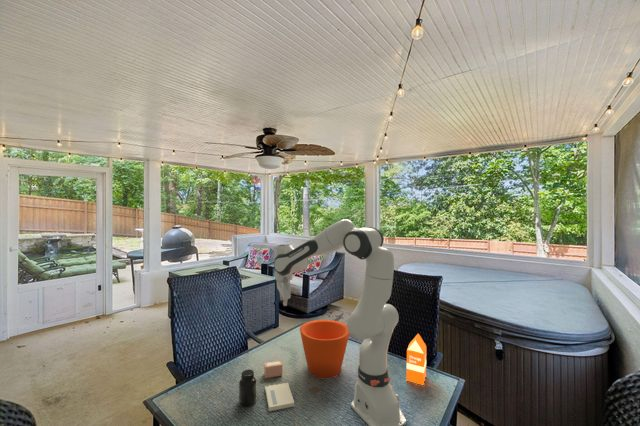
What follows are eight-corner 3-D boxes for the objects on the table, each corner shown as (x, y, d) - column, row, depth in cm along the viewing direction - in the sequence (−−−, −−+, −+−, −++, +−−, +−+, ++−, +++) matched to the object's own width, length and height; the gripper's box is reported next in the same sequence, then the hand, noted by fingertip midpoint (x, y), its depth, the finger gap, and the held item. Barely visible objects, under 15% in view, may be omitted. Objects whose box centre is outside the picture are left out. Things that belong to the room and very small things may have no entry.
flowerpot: (349, 357, 148) (349, 320, 148) (349, 386, 123) (350, 342, 124) (303, 354, 151) (304, 318, 151) (294, 382, 126) (295, 338, 126)
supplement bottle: (249, 394, 117) (249, 366, 117) (259, 401, 113) (260, 371, 113) (235, 402, 112) (235, 372, 112) (245, 410, 107) (245, 379, 107)
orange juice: (406, 381, 128) (406, 338, 128) (409, 372, 135) (410, 331, 136) (424, 386, 124) (424, 341, 124) (426, 376, 132) (426, 334, 132)
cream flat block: (294, 406, 110) (294, 402, 110) (269, 411, 107) (269, 407, 107) (287, 385, 123) (287, 381, 123) (265, 389, 120) (265, 385, 120)
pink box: (282, 375, 131) (282, 364, 131) (265, 378, 128) (265, 367, 128) (280, 370, 135) (281, 360, 135) (264, 373, 132) (264, 362, 132)
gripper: (294, 279, 133) (293, 308, 133) (286, 271, 153) (285, 296, 153) (281, 280, 131) (280, 309, 131) (274, 272, 151) (274, 297, 151)
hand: (283, 302), depth 142 cm, fingers open, 8 cm apart
